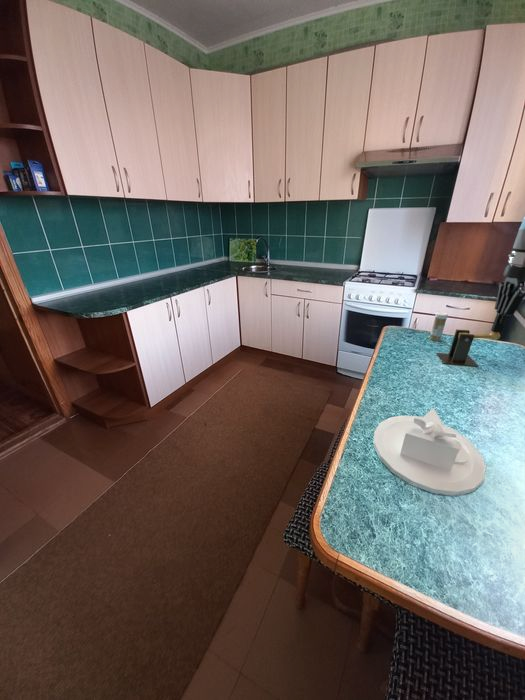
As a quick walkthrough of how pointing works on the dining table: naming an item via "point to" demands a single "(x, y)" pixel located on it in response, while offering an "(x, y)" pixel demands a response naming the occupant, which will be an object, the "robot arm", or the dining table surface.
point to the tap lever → (486, 335)
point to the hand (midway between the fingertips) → (496, 331)
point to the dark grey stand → (459, 350)
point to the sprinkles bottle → (438, 326)
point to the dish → (429, 454)
